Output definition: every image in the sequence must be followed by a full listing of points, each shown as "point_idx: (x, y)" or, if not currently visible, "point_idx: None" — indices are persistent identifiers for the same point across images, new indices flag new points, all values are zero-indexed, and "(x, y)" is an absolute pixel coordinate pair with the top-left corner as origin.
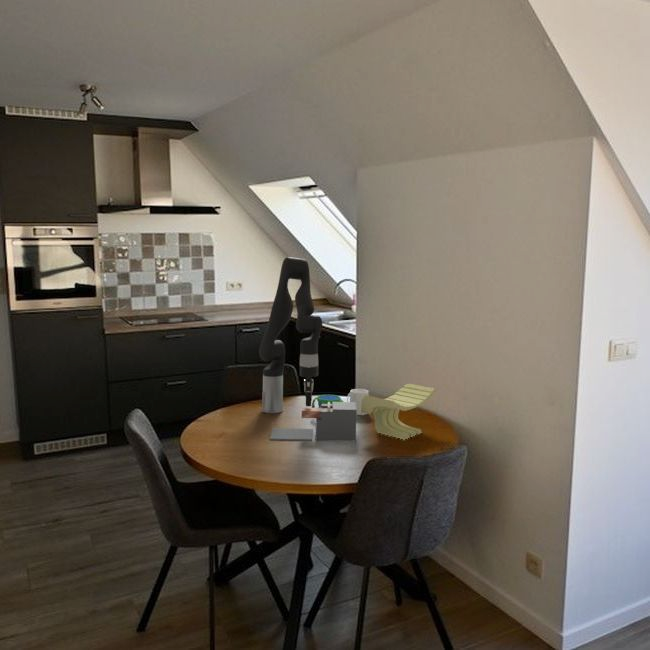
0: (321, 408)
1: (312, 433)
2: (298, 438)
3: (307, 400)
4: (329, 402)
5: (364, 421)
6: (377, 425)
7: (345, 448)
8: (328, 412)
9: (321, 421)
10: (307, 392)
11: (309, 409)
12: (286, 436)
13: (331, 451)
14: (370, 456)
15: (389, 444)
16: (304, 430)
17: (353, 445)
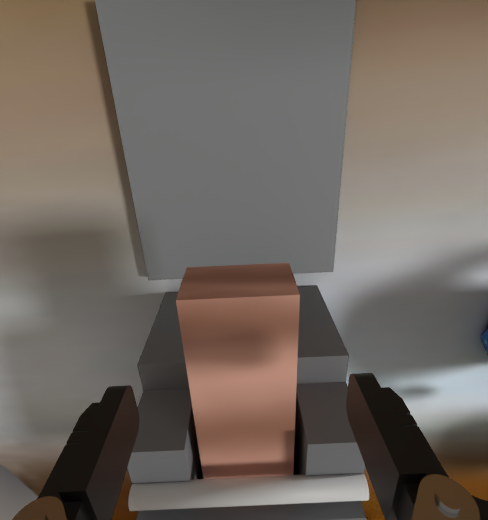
0: (277, 430)
1: None
2: (146, 208)
3: (60, 468)
4: (353, 500)
5: (452, 449)
6: None
7: (83, 402)
8: (135, 482)
9: (144, 388)
10: (394, 483)
11: (236, 357)
12: (169, 129)
13: (24, 360)
14: (24, 467)
15: None
16: (304, 229)
17: None
